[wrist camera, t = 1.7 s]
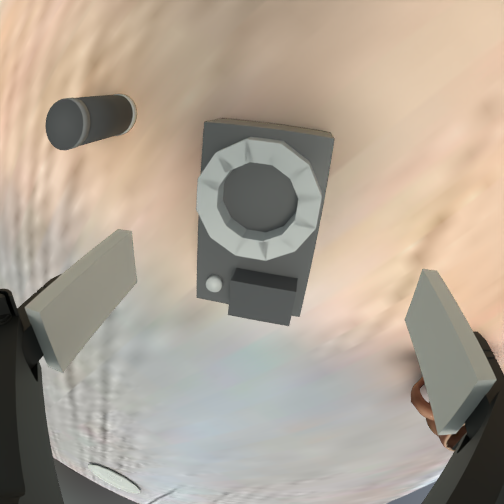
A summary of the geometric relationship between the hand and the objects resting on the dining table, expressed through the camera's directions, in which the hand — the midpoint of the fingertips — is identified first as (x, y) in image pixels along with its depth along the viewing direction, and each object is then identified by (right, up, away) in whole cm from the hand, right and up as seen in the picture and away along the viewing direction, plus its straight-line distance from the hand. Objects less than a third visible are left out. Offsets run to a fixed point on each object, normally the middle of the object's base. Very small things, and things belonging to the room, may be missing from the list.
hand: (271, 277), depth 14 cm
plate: (-50, -80, +74) cm, 120 cm away
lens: (-16, +17, +19) cm, 30 cm away
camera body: (+1, +6, +21) cm, 22 cm away
